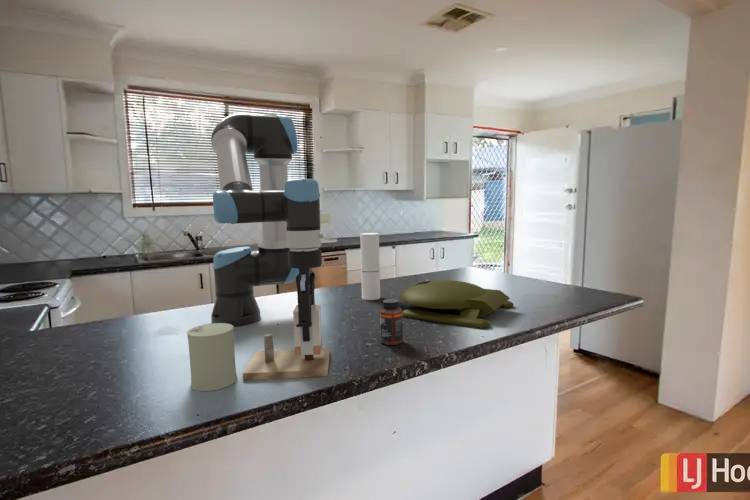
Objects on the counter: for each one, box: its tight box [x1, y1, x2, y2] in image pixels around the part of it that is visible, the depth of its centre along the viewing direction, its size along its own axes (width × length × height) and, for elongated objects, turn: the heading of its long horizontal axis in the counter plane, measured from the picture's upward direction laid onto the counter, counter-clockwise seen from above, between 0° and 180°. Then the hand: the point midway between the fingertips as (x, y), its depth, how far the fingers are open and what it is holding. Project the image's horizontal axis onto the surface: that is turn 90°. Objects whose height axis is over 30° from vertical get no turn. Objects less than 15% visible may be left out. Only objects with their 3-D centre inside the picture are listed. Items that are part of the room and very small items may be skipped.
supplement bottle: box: [379, 298, 404, 346], centre depth 110 cm, size 6×6×11 cm
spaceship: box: [399, 279, 514, 329], centre depth 140 cm, size 35×31×10 cm
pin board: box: [242, 333, 331, 381], centre depth 95 cm, size 18×13×8 cm
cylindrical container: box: [359, 232, 381, 301], centre depth 159 cm, size 7×7×25 cm
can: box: [186, 322, 238, 392], centre depth 87 cm, size 9×9×12 cm
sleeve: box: [292, 304, 323, 355], centre depth 95 cm, size 6×6×10 cm
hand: (308, 348), depth 95 cm, fingers closed on sleeve, 6 cm apart
